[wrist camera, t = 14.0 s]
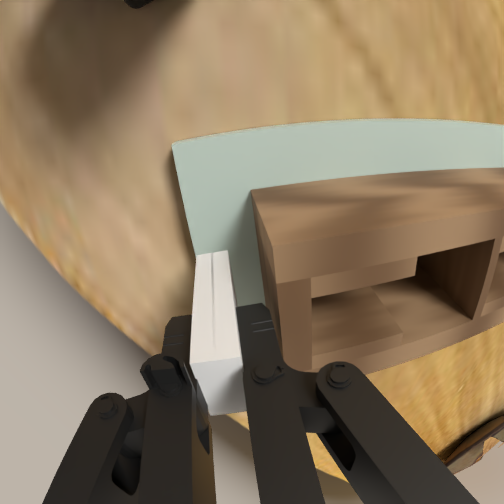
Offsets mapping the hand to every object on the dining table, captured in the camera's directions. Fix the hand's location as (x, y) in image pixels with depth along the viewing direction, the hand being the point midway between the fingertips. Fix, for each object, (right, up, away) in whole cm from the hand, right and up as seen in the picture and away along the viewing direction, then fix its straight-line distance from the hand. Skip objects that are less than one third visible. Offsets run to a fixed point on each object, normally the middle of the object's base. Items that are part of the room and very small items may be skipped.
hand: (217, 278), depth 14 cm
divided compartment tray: (+12, +3, +2) cm, 12 cm away
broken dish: (+45, -36, +27) cm, 63 cm away
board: (+12, +4, +3) cm, 13 cm away
